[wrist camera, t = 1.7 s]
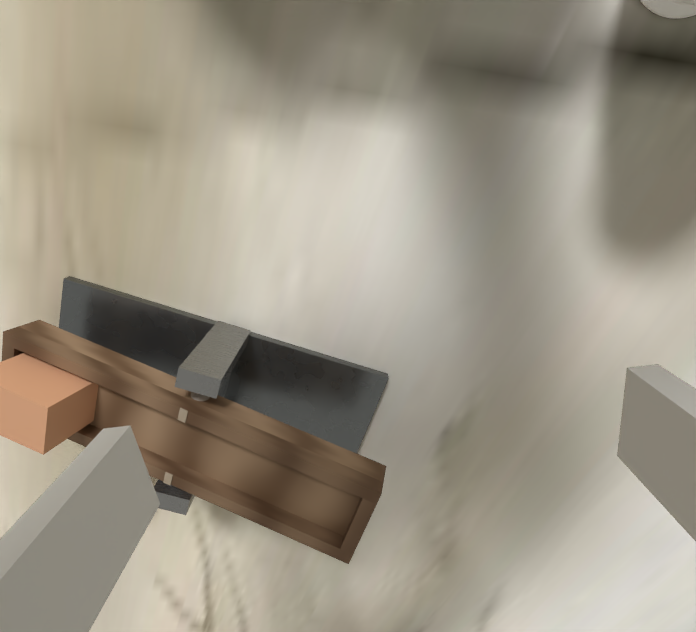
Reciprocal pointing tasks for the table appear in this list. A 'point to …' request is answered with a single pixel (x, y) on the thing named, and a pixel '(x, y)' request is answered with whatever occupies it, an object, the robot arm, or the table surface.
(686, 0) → the jar
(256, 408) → the fulcrum
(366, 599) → the table surface
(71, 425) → the block
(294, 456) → the beam
